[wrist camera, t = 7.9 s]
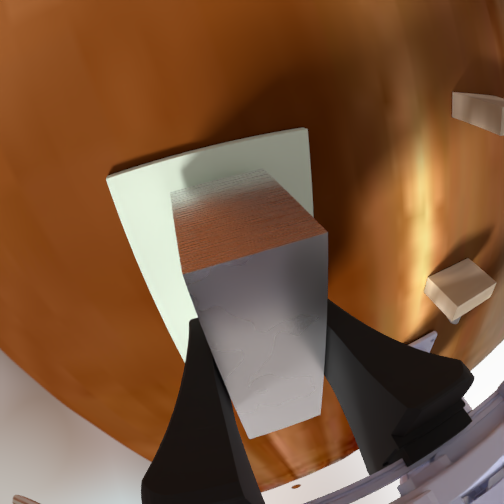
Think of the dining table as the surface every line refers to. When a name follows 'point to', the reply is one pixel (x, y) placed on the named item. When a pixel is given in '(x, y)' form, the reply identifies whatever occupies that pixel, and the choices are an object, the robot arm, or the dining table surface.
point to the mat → (189, 174)
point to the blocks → (467, 272)
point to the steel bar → (257, 293)
